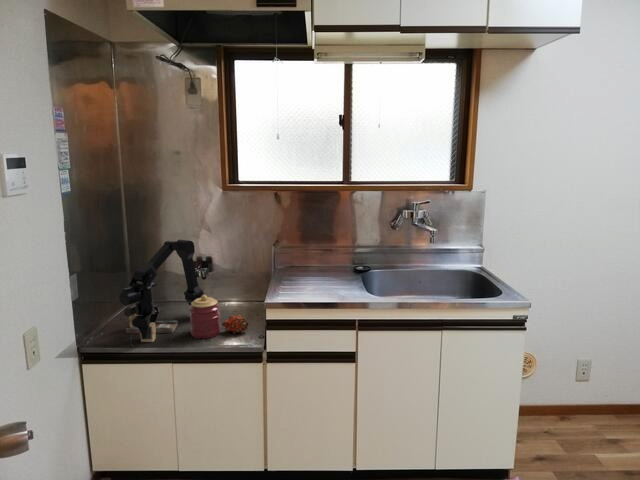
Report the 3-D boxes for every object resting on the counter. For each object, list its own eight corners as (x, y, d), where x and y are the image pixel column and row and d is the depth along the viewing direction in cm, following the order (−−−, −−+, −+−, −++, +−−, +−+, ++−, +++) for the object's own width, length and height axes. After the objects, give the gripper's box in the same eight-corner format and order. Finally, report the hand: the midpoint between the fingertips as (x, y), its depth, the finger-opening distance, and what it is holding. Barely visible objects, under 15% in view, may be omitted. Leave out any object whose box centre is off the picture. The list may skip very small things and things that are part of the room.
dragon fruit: (250, 337, 199) (224, 339, 201) (252, 320, 205) (227, 323, 207) (244, 326, 193) (217, 329, 195) (246, 310, 199) (221, 312, 201)
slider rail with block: (177, 325, 209) (176, 308, 208) (172, 332, 200) (171, 315, 199) (133, 325, 208) (132, 309, 207) (126, 333, 199) (124, 316, 198)
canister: (225, 328, 205) (224, 291, 201) (213, 340, 192) (211, 300, 189) (199, 326, 207) (197, 289, 204) (185, 337, 195) (182, 298, 191)
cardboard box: (144, 338, 194) (143, 322, 193) (156, 337, 195) (154, 322, 193) (140, 342, 190) (139, 326, 189) (152, 342, 190) (151, 326, 189)
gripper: (133, 292, 198) (136, 326, 201) (117, 306, 179) (120, 343, 182) (159, 291, 198) (161, 325, 201) (145, 305, 180) (148, 342, 183)
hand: (148, 333), depth 192 cm, fingers open, 9 cm apart
